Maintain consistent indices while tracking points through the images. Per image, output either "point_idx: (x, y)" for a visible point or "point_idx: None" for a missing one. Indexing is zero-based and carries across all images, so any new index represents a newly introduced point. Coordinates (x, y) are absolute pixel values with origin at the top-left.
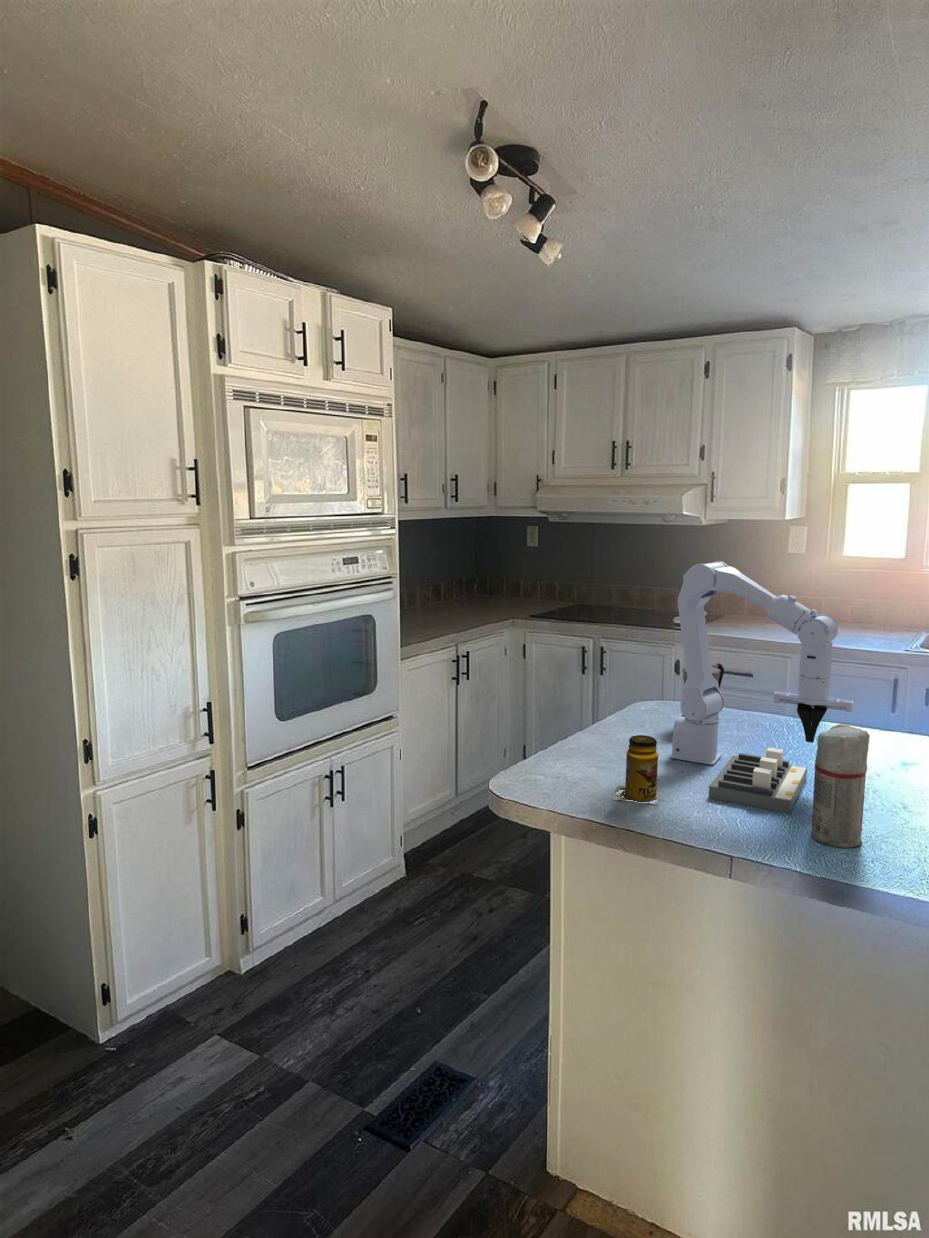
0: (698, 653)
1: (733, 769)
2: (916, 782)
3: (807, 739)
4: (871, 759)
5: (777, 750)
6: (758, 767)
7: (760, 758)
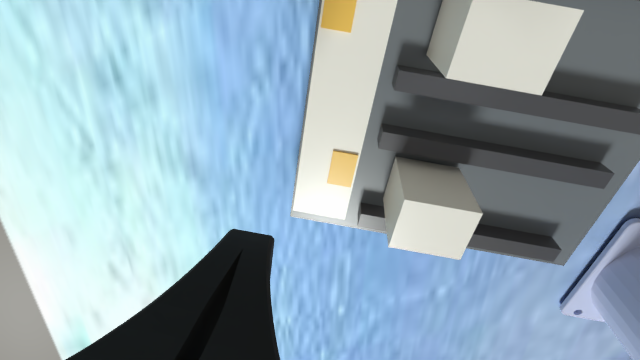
0: None
1: (630, 95)
2: (18, 249)
3: (258, 242)
4: None
5: (421, 227)
6: (513, 108)
7: None
